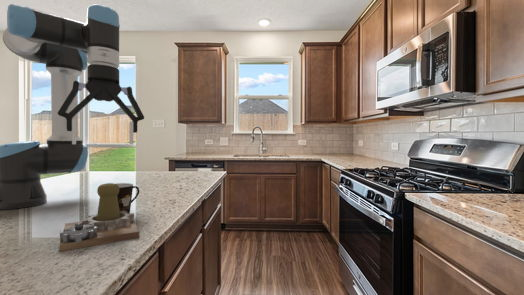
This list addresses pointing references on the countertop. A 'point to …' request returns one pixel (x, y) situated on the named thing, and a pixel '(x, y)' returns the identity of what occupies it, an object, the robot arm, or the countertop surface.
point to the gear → (78, 233)
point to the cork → (108, 202)
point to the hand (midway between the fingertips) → (104, 144)
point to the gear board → (105, 231)
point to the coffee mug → (126, 196)
